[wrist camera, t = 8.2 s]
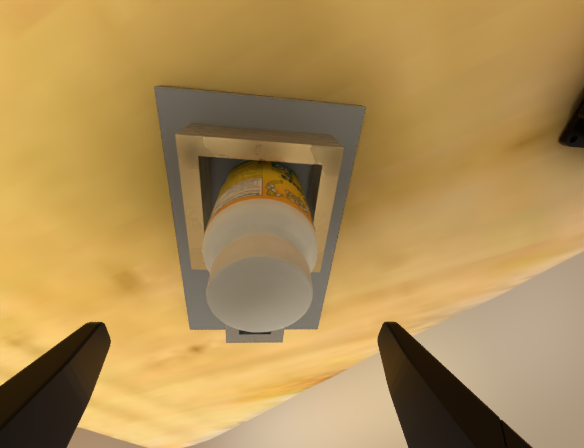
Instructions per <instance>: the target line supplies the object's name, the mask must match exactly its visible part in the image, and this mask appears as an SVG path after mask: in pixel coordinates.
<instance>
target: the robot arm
mask: <svg viewBox="0 0 584 448" xmlns="http://www.w3.org/2000/svg"><path fill="white" fill-rule="evenodd" d="M561 144H562V145H565V146H569V147H580V148H584V101H583V102H582V104H581V106H580V107H579V109H578V111H577V112H576V114H575V116H574V118H573V119H572V121H571V123H570V124H569V126H568V128H567V129H566V131H565V133H564V134H563V136H562V138H561ZM110 343H111V340H110V336H109V334H108V331H107V328H106V326H105V324H104V323H103V322H89V323H86V324H85V325H83V326H82V327H80V328H79V329H78V330H76V331H75V332H74V333H72V334H71V335H69V336H68V337H67V338H65V339H64V340H63V341H61V342H60V343H58V344H57V345H56V346H54V347H53V348H52V349H50V350H49V351H48V352H46V353H45V354H43V355H42V356H41V357H39V358H38V359H37V360H35V361H34V362H32V363H31V364H30V365H28V366H27V367H26V368H24V369H23V370H21V371H20V372H19V373H17V374H16V375H15V376H13V377H12V378H11V379H9V380H8V381H6V382H5V383H4V384H2V385H1V386H0V448H67V446H68V444H69V441H70V440H71V438H72V435H73V433H74V431H75V429H76V427H77V425H78V423H79V421H80V419H81V417H82V415H83V413H84V411H85V409H86V407H87V404H88V402H89V400H90V398H91V395H92V393H93V390H94V388H95V385H96V382H97V380H98V377H99V374H100V372H101V369H102V366H103V364H104V361H105V358H106V355H107V353H108V350H109V347H110ZM378 346H379V351H380V355H381V359H382V363H383V367H384V371H385V376H386V380H387V384H388V388H389V391H390V394H391V398H392V401H393V404H394V407H395V409H396V413H397V415H398V418H399V421H400V424H401V427H402V430H403V433H404V436H405V439H406V442H407V445H408V448H532V447H531V446H530V445H529V444H528V443H527V442H526V441H525V440H524V439H522V438H521V437H520V436H519V435H518V434H517V433H516V432H515V431H514V430H513V429H511V428H510V427H509V426H508V425H507V424H506V423H505V422H504V421H503V420H500V418H499V417H498V416H497V415H496V414H495V413H494V412H493V411H492V410H491V409H490V408H489V407H488V406H486V405H485V404H484V403H483V402H482V401H481V400H480V399H479V398H478V397H477V396H476V395H475V394H474V393H473V392H471V391H470V390H469V389H468V388H467V387H466V386H465V385H464V384H463V383H462V382H461V381H460V380H458V379H457V378H456V377H455V376H454V375H453V374H452V373H451V372H450V371H449V370H448V369H446V367H444V366H443V365H442V364H441V363H440V362H439V361H438V360H437V359H436V358H435V357H434V356H432V355H431V354H430V353H429V352H428V351H427V350H426V349H425V348H424V347H423V346H422V345H421V344H420V343H419V342H418V341H416V340H415V339H414V338H413V337H412V336H411V335H410V334H409V333H408V332H407V331H406V330H405V329H404V328H402V327H401V326H400V325H399V324H398V323H396V322H384V323H383V325H382V328H381V330H380V333H379V335H378Z"/></svg>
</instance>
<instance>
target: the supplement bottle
mask: <svg viewBox="0 0 584 448" xmlns="http://www.w3.org/2000/svg"><path fill="white" fill-rule="evenodd" d="M202 254H203V259H204V263H205V265H206V268H207V269H208V271H209V273H210V277H209V281H208V284H207V289H206V298H207V303H208V305H209V308H210V310H211V311H212V313H213V314H214V315H215V316H216V317H217V318H218V319H219V320H220V321H222V322H223V323H224V324H226V325H228V326H230V327H233V328H235V329H238V330H242V331H247V332H270V331H275V330H279V329H282V328H285V327H287V326H289V325H291V324H293V323H295V322H296V321H298V320H299V319H300V318H301V317H302V316H303V315H304V314H305V313H306V312H307V310H308V309H309V307H310V305H311V302H312V297H313V287H312V281H311V272H312V270H313V268H314V266H315V263H316V260H317V256H318V241H317V236H316V231H315V228H314V225H313V222H312V218H311V215H310V212H309V208H308V205H307V202H306V199H305V195H304V192H303V188H302V185H301V182H300V180H299V178H298V176H297V175H296V173H295V172H294V171H293V170H292V169H291V168H290V167H289V166H288V165H286V164H284V163H283V162H275V161H261V160H247V159H245V160H243V161H241V162H239V163H238V164H236V165H235V166H234V167H233V168H232V169H231V170H230V171H229V173H228V174H227V176H226V177H225V180H224V182H223V184H222V187H221V190H220V193H219V195H218V198H217V200H216V203H215V206H214V209H213V212H212V215H211V217H210V220H209V222H208V225H207V228H206V231H205V234H204V238H203V243H202Z"/></svg>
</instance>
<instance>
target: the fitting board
mask: <svg viewBox="0 0 584 448" xmlns="http://www.w3.org/2000/svg"><path fill="white" fill-rule="evenodd" d="M154 89H155V96H156V102H157V109H158V116H159V123H160V129H161V136H162V143H163V150H164V157H165V163H166V170H167V177H168V184H169V191H170V197H171V204H172V211H173V218H174V225H175V231H176V238H177V245H178V252H179V259H180V265H181V272H182V279H183V286H184V293H185V299H186V306H187V313H188V320H189V327H190V330H226V324H224V323H223V322H222V321H220V320H219V319H218V318H217V317H216V316H215V315H214V314H213V313H212V311H211V310H210V308H209V305H208V303H207V298H206V289H207V284H208V281H209V277H210V273H209V271H208V270H196V269H191V261H190V253H189V245H188V236H187V228H186V220H185V212H184V203H183V195H182V187H181V179H180V171H179V162H178V154H177V146H176V138H175V134H176V133H178V132H179V131H180V130H182V129H183V128H185V127H186V126H187V125H189V124H190V123H194V124H206V125H218V126H230V127H242V128H253V129H265V130H277V131H289V132H301V133H313V134H324V135H333V136H334V138H335V139H336V140H337V141H338V142H339V143H340V144H341V145H342V146H343V147H344V151H343V156H342V161H341V167H340V172H339V177H338V182H337V187H336V192H335V198H334V203H333V208H332V213H331V218H330V223H329V229H328V234H327V239H326V244H325V249H324V255H323V260H322V265H321V270H320V272H311V281H312V287H313V297H312V302H311V305H310V307H309V309H308V310H307V312H306V313H305V314H304V315H303V316H302V317H301V318H300V319H299V320H298V321H296V322H295V323H293V324H291V325H289V326H287V327H285V328H284V329H318V325H319V320H320V316H321V311H322V307H323V302H324V298H325V293H326V288H327V284H328V279H329V275H330V270H331V265H332V261H333V256H334V252H335V247H336V242H337V238H338V233H339V229H340V224H341V219H342V215H343V210H344V206H345V201H346V196H347V192H348V187H349V183H350V178H351V173H352V169H353V164H354V160H355V155H356V151H357V146H358V141H359V137H360V132H361V128H362V123H363V118H364V114H365V109H366V107H364V106H361V105H352V104H342V103H332V102H322V101H312V100H302V99H292V98H281V97H271V96H261V95H251V94H241V93H231V92H221V91H211V90H201V89H191V88H180V87H170V86H155V87H154ZM243 160H245V159H233V158H219V157H210V163H211V180H212V197H213V209H214V206H215V203H216V200H217V198H218V195H219V193H220V190H221V187H222V184H223V182H224V180H225V177H226V176H227V174H228V173H229V171H230V170H231V169H232V168H233V167H234V166H235V165H236V164H238V163H239V162H241V161H243ZM283 163H284V164H286V165H288V166H289V167H290V168H291V169H292V170H293V171H294V172H295V173H296V175H297V176H298V178H299V180H300V182H301V185H302V188H303V192H304V195H305V199H306V202H307V199H308V192H309V184H310V177H311V170H312V164H304V163H289V162H283Z"/></svg>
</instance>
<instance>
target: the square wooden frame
mask: <svg viewBox="0 0 584 448" xmlns="http://www.w3.org/2000/svg"><path fill="white" fill-rule="evenodd" d="M175 138H176V146H177V154H178V162H179V171H180V179H181V187H182V195H183V203H184V212H185V220H186V228H187V236H188V245H189V253H190V261H191V269H196V270H208V269H207V268H206V265H205V263H204V259H203V254H202V243H203V238H204V234H205V231H206V228H207V225H208V222H209V220H210V217H211V215H212V212H213V197H212V180H211V163H210V157H219V158H233V159H247V160H261V161H275V162H289V163H304V164H312V170H311V177H310V184H309V192H308V199H307V205H308V208H309V212H310V215H311V218H312V222H313V225H314V228H315V231H316V236H317V241H318V256H317V260H316V263H315V266H314V268H313V270H312V272H320V270H321V265H322V260H323V255H324V249H325V244H326V239H327V234H328V229H329V223H330V218H331V213H332V208H333V203H334V198H335V192H336V187H337V182H338V177H339V172H340V167H341V161H342V156H343V151H344V147H343V146H342V145H341V144H340V143H339V142H338V141H337V140H336V139H335V138H334V136H333V135H324V134H313V133H301V132H289V131H277V130H265V129H253V128H242V127H230V126H218V125H206V124H194V123H190V124H189V125H187V126H186V127H185V128H183V129H182V130H180V131H179V132H178V133H176V134H175Z"/></svg>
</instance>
